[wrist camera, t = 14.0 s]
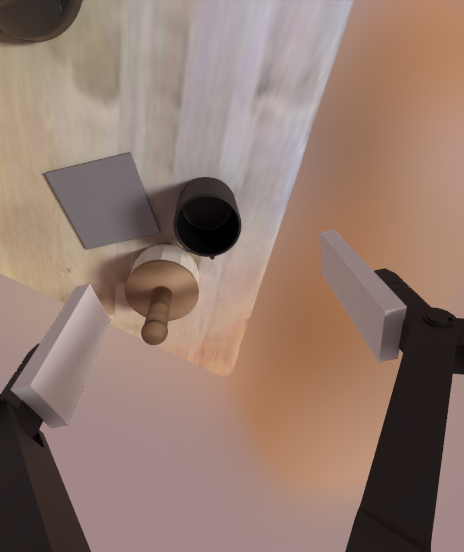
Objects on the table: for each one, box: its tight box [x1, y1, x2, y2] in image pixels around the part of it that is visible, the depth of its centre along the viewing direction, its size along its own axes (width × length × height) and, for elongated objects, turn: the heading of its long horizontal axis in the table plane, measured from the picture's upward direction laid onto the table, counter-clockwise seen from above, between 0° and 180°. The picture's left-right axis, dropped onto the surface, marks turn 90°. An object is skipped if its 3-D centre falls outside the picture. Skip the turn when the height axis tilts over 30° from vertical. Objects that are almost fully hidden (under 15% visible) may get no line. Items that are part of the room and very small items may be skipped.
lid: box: [125, 260, 199, 345], centre depth 44 cm, size 12×12×12 cm
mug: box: [174, 177, 241, 260], centre depth 44 cm, size 9×12×9 cm
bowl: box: [131, 244, 199, 284], centre depth 51 cm, size 12×12×6 cm
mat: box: [44, 152, 160, 249], centre depth 46 cm, size 13×13×1 cm
